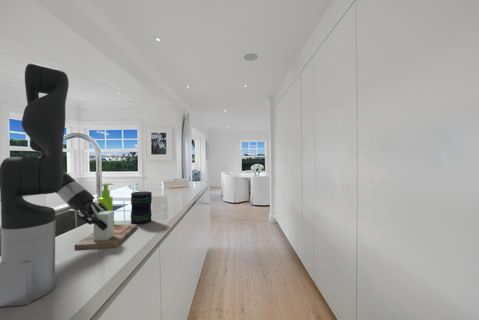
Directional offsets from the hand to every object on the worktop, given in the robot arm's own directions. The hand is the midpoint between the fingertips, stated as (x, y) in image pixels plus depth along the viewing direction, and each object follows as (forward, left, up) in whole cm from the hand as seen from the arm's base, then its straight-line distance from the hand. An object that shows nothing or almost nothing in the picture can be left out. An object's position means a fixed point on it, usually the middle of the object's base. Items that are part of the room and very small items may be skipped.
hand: (109, 225), depth 81 cm
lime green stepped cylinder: (+23, +12, -6) cm, 27 cm away
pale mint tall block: (0, +2, -5) cm, 5 cm away
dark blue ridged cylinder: (+25, -4, -6) cm, 26 cm away
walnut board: (+5, +2, -6) cm, 8 cm away
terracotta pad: (+9, +2, -5) cm, 10 cm away
